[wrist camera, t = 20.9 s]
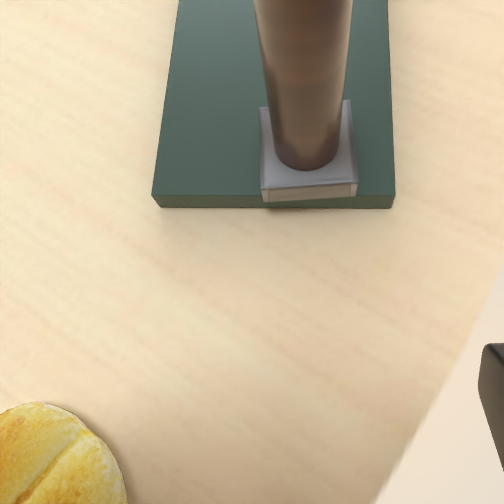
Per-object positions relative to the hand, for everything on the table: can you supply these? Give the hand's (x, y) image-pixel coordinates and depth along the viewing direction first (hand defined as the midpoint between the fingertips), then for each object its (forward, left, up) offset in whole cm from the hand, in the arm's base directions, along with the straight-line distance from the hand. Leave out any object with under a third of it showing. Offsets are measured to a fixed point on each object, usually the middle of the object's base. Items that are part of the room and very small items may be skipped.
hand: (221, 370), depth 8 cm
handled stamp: (+4, -11, -12) cm, 17 cm away
